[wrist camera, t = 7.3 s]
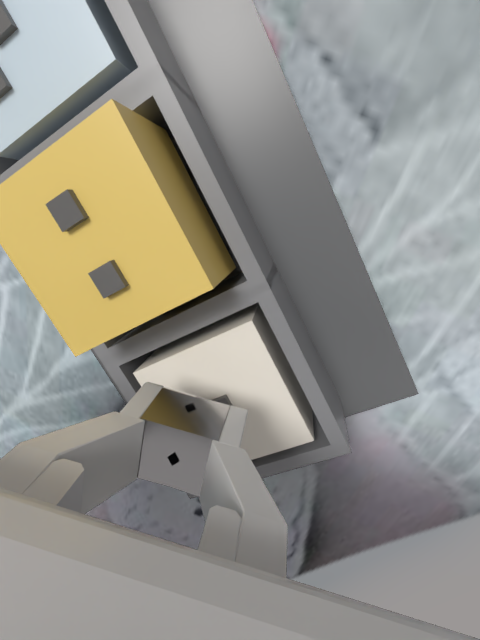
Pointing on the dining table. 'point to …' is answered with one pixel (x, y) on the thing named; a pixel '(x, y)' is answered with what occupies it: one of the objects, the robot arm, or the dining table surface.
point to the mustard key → (109, 228)
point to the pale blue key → (54, 66)
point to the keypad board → (253, 214)
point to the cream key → (239, 378)
